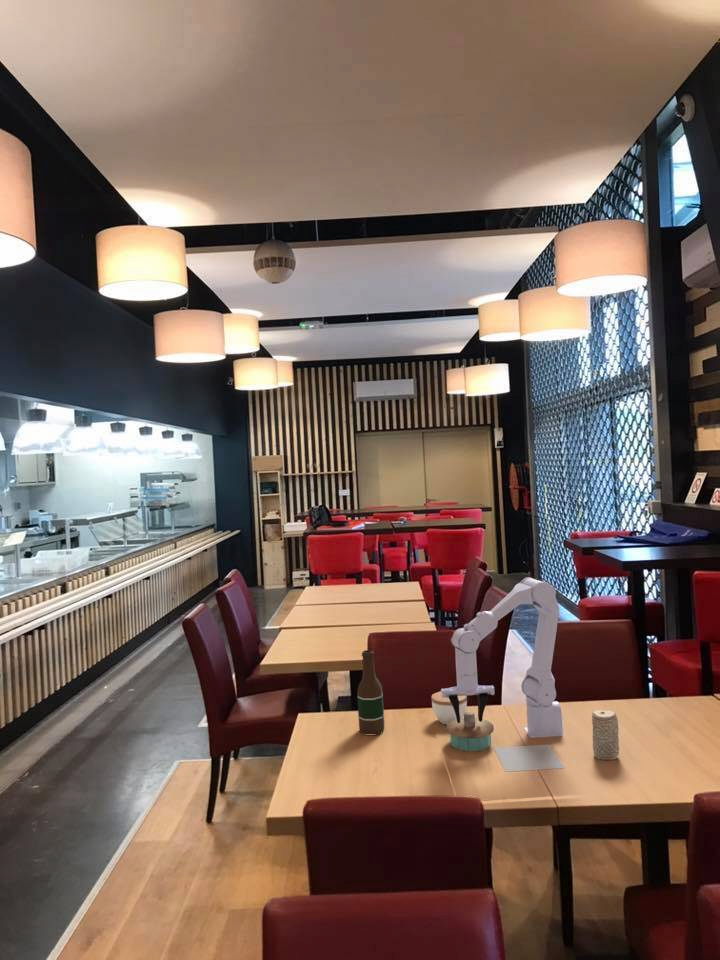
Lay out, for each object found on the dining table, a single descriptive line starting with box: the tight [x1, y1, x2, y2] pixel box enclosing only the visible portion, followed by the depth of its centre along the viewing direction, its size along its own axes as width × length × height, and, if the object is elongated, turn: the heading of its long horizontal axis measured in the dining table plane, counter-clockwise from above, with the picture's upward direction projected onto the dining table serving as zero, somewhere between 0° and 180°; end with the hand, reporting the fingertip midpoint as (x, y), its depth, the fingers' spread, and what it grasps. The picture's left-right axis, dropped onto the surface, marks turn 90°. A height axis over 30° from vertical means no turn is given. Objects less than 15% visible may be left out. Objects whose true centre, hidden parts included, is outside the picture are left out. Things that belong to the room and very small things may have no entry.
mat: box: [493, 744, 566, 773], centre depth 186 cm, size 15×15×1 cm
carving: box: [591, 709, 620, 761], centre depth 184 cm, size 6×8×12 cm
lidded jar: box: [430, 691, 468, 726], centre depth 217 cm, size 11×11×9 cm
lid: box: [446, 711, 495, 738], centre depth 197 cm, size 13×13×4 cm
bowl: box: [449, 733, 492, 752], centre depth 198 cm, size 11×11×4 cm
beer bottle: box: [356, 649, 385, 735], centre depth 212 cm, size 8×8×24 cm
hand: (469, 721), depth 198 cm, fingers open, 5 cm apart
